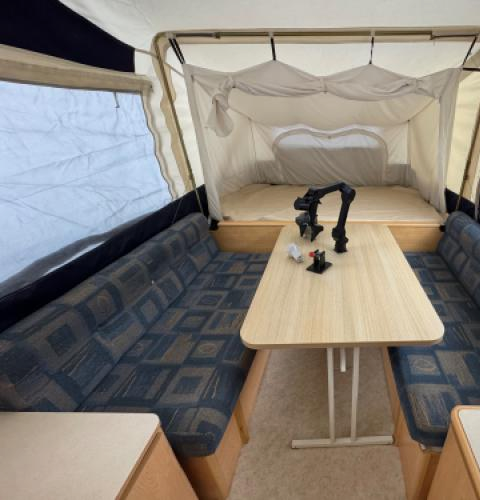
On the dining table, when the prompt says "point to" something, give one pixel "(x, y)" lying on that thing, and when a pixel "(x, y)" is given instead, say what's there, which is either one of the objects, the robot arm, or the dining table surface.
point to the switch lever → (314, 254)
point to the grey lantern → (308, 227)
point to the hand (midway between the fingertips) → (306, 239)
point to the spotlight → (294, 252)
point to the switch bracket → (319, 263)
